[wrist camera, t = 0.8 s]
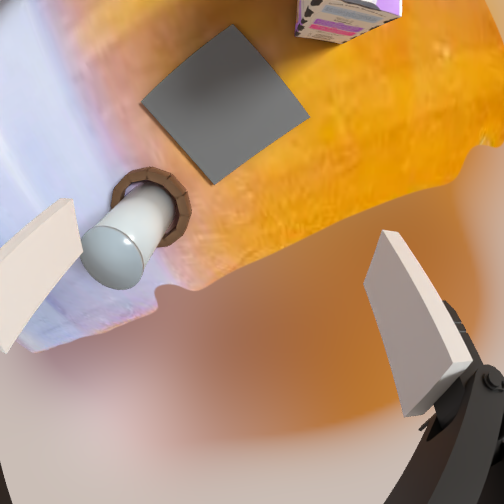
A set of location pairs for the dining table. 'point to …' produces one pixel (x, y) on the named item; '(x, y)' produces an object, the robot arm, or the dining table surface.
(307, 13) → the candy box
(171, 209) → the white cylindrical canister
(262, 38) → the dining table surface
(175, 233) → the brown segmented ring
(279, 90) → the mat
